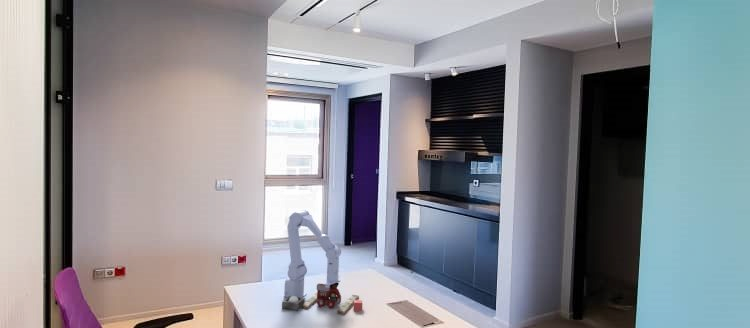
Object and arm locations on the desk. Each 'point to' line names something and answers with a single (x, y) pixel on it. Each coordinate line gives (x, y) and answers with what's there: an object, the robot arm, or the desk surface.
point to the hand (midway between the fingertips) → (331, 297)
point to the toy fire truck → (324, 296)
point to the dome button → (293, 299)
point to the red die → (357, 305)
